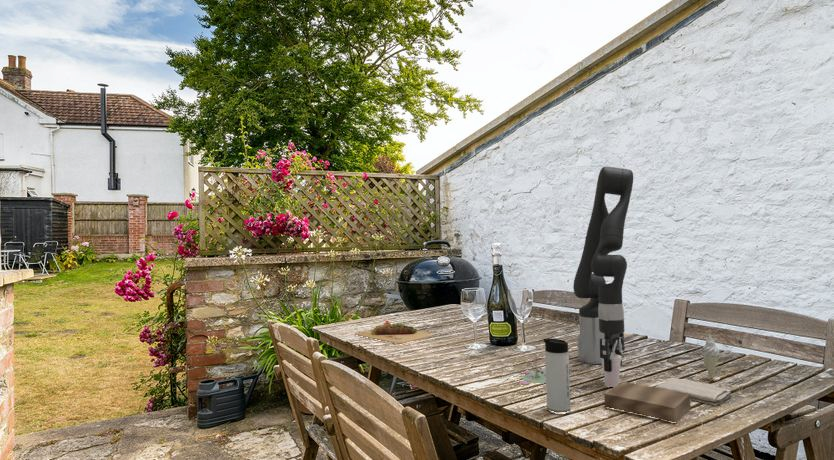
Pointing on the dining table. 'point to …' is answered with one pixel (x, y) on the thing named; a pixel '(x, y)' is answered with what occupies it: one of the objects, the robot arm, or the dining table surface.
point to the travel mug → (557, 375)
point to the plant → (534, 374)
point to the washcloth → (697, 390)
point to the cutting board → (394, 333)
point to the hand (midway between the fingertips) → (613, 368)
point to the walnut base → (648, 401)
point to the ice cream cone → (710, 356)
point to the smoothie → (613, 371)
